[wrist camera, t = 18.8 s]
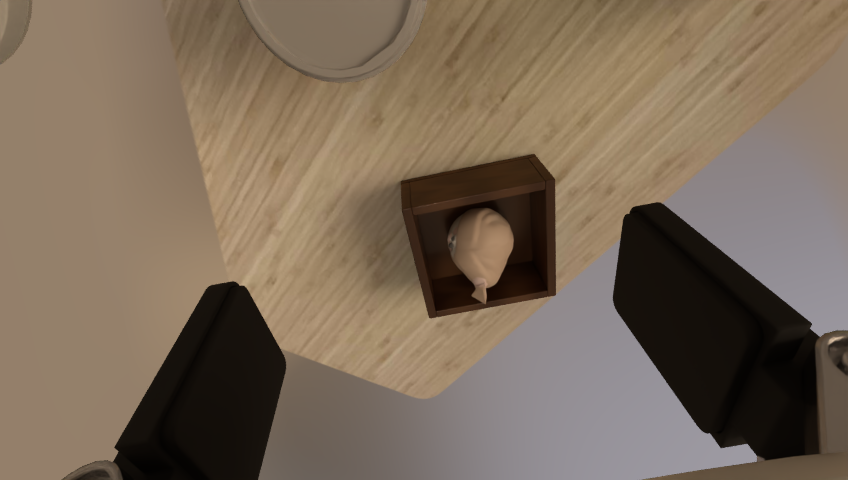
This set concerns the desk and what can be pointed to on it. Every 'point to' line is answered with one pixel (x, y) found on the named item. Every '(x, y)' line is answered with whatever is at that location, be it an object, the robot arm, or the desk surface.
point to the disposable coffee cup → (336, 34)
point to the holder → (503, 193)
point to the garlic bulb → (480, 247)
